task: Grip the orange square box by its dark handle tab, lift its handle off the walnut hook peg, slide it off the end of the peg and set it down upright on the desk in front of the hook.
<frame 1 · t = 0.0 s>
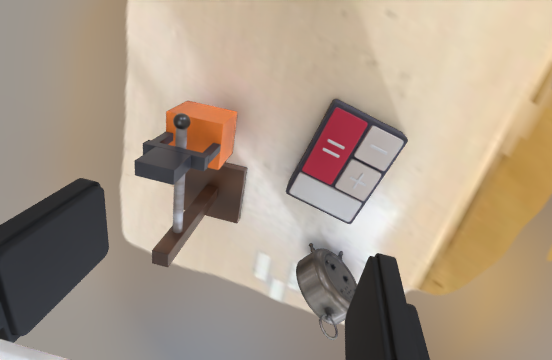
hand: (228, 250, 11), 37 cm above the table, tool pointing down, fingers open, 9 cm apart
orange square box: (210, 127, 44), point 5 cm above the table, touching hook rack
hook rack: (214, 187, 54), on the table
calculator: (342, 159, 48), on the table
alarm clock: (331, 256, 56), on the table
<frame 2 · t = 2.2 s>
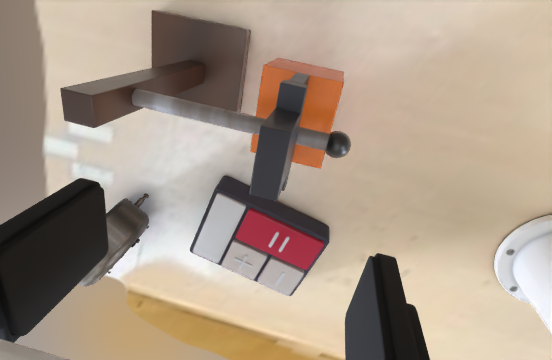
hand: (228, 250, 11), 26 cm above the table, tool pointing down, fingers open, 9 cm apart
orange square box: (302, 103, 30), point 5 cm above the table, touching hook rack
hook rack: (200, 70, 35), on the table
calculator: (261, 230, 43), on the table
alarm clock: (138, 215, 46), on the table
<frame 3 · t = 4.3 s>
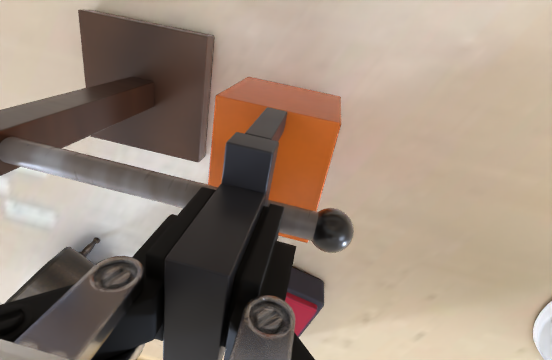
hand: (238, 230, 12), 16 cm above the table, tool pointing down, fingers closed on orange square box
orange square box: (283, 138, 22), point 5 cm above the table, touching gripper, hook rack
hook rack: (152, 88, 27), on the table
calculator: (240, 282, 35), on the table
alarm clock: (90, 261, 38), on the table
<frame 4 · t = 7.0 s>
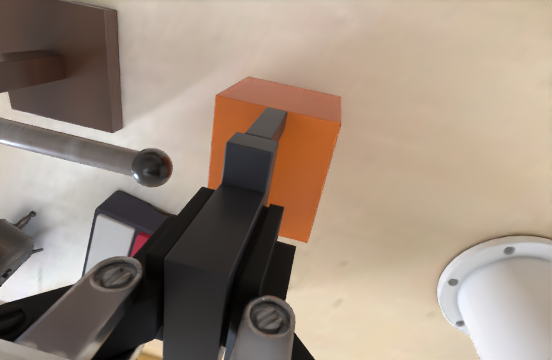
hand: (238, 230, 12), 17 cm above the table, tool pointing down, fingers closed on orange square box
orange square box: (283, 138, 22), point 6 cm above the table, touching gripper
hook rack: (66, 62, 28), on the table
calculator: (170, 253, 36), on the table
alarm clock: (30, 235, 39), on the table
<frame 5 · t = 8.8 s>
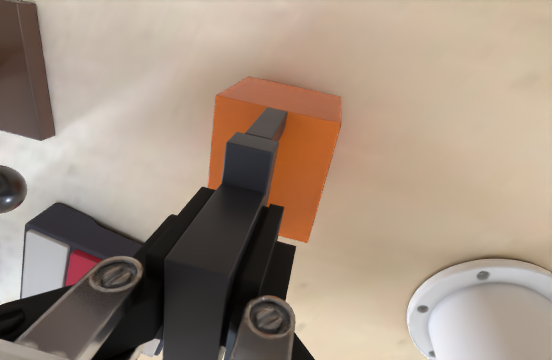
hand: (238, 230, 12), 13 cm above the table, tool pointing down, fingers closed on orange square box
orange square box: (283, 138, 22), point 2 cm above the table, touching gripper
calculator: (119, 270, 33), on the table
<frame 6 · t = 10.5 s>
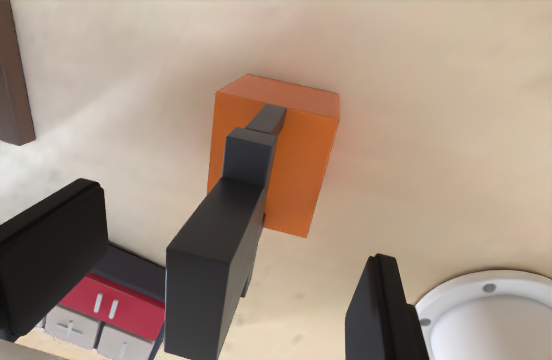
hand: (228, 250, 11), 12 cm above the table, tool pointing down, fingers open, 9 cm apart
orange square box: (282, 135, 22), on the table
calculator: (107, 280, 32), on the table
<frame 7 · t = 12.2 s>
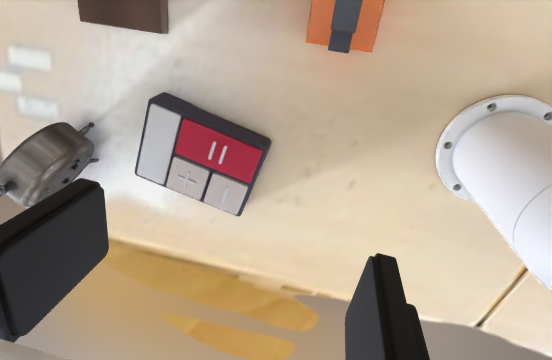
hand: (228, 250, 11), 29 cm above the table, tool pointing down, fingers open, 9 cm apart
orange square box: (346, 6, 33), on the table
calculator: (207, 151, 43), on the table
alarm clock: (87, 148, 46), on the table
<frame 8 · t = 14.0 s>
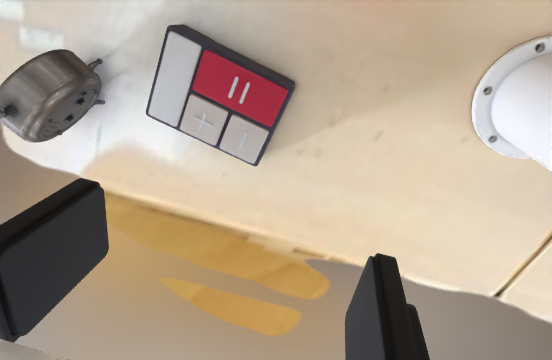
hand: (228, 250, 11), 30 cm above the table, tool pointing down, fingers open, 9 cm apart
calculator: (224, 95, 40), on the table
alarm clock: (93, 89, 43), on the table
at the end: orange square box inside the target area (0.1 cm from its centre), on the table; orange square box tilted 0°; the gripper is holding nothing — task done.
